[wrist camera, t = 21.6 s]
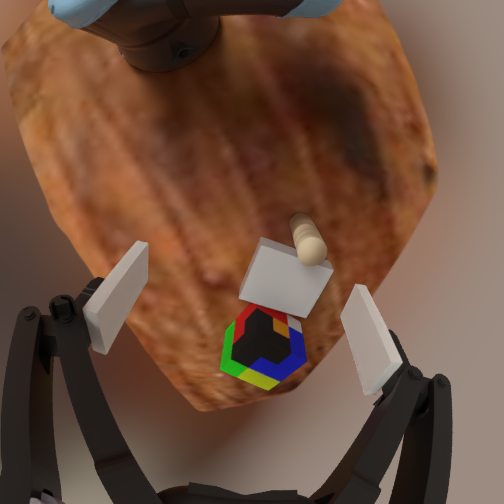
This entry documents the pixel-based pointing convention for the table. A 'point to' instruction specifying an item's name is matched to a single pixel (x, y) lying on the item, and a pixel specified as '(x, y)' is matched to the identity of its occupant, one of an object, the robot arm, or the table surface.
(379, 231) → the table surface
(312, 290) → the slab
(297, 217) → the dowel
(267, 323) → the puzzle toy
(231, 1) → the robot arm
